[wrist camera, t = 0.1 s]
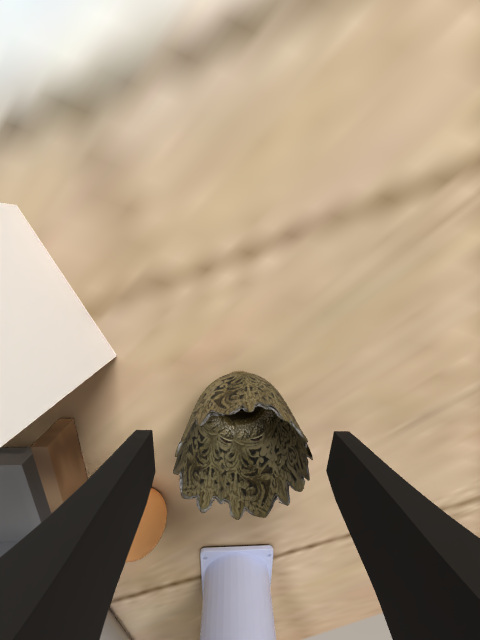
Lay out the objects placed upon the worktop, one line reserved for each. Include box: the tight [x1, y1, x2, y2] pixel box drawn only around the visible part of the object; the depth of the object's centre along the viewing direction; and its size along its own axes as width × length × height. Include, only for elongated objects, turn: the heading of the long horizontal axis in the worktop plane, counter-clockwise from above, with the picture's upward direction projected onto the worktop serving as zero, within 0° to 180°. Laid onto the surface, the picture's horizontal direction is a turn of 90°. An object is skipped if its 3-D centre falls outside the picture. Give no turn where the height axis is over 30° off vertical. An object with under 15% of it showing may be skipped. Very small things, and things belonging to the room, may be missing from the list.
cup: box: [173, 371, 313, 520], centre depth 16 cm, size 8×7×8 cm
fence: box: [31, 419, 88, 513], centre depth 21 cm, size 18×1×3 cm, turn 179°
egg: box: [126, 488, 167, 562], centre depth 20 cm, size 5×5×5 cm
